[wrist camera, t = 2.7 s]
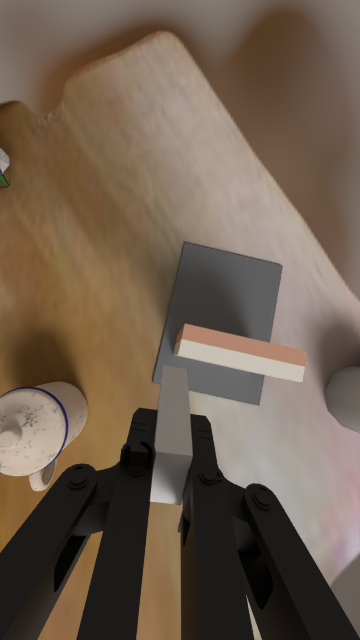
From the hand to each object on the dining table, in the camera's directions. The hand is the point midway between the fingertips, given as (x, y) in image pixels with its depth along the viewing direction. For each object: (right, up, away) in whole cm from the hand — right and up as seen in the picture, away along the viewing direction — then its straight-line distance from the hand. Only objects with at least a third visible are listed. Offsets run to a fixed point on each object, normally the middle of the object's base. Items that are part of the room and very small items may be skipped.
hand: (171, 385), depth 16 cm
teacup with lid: (-17, -10, +19) cm, 28 cm away
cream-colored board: (+6, -1, +22) cm, 22 cm away
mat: (+7, +4, +23) cm, 24 cm away
